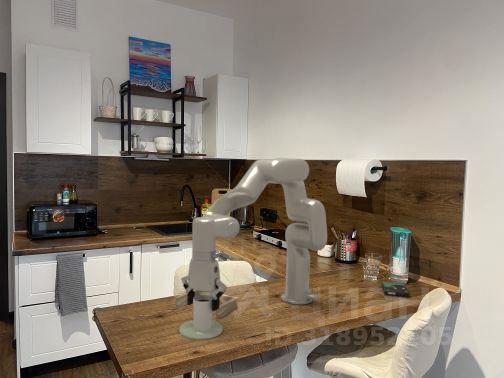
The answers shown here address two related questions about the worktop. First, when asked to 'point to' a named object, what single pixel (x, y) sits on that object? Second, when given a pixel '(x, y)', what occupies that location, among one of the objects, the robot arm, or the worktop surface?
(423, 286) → the worktop surface
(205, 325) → the white coffee cup
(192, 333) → the disc
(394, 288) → the disk drive
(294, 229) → the robot arm
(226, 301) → the frame
